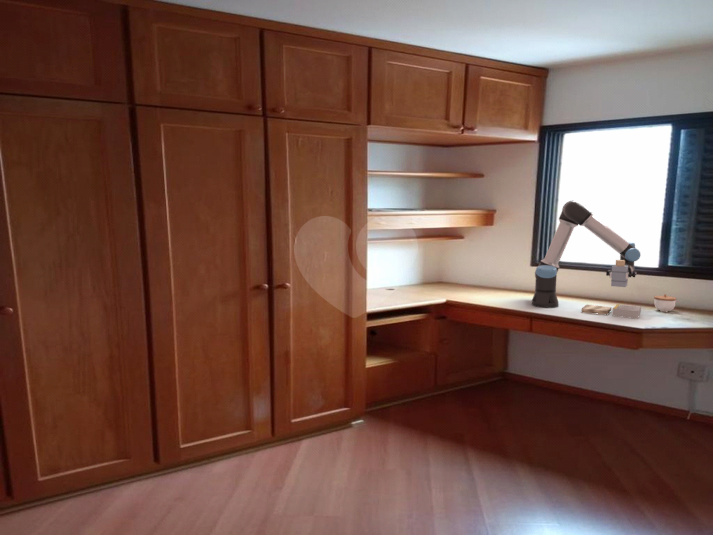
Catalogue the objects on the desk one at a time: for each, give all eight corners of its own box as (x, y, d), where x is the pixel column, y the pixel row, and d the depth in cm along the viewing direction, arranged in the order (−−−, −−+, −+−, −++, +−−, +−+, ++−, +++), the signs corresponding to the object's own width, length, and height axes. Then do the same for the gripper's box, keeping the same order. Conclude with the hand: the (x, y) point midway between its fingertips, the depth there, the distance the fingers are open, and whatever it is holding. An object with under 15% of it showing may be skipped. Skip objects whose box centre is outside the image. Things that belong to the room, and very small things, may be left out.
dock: (612, 315, 277) (612, 308, 276) (616, 311, 288) (616, 304, 287) (637, 318, 270) (637, 310, 269) (640, 313, 281) (641, 306, 281)
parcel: (616, 266, 277) (616, 260, 277) (615, 265, 281) (615, 259, 280) (624, 266, 276) (625, 260, 275) (623, 265, 279) (624, 260, 279)
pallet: (581, 312, 285) (581, 308, 285) (586, 308, 296) (586, 304, 295) (607, 315, 278) (607, 311, 277) (611, 311, 288) (611, 307, 288)
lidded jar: (663, 313, 283) (664, 296, 282) (648, 309, 293) (649, 293, 292) (679, 312, 285) (681, 295, 284) (664, 308, 295) (666, 292, 294)
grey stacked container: (610, 286, 279) (611, 266, 277) (613, 284, 285) (613, 264, 283) (625, 287, 275) (626, 266, 273) (627, 285, 280) (628, 265, 279)
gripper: (643, 278, 288) (639, 284, 270) (605, 276, 300) (598, 281, 281) (644, 265, 287) (639, 270, 269) (605, 263, 299) (598, 267, 280)
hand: (618, 275), depth 275 cm, fingers closed on grey stacked container, 7 cm apart
